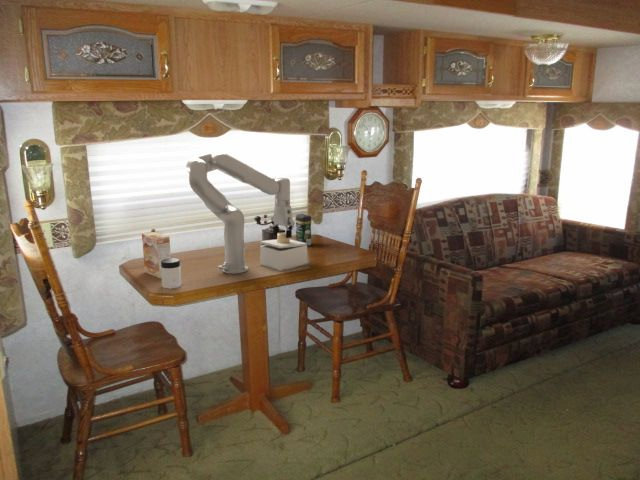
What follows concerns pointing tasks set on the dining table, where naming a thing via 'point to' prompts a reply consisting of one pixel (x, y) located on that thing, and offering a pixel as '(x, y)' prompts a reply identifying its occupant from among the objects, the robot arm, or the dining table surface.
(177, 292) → the dining table surface
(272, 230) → the brown coffee grinder
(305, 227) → the coffee jar
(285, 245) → the box lid
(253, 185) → the robot arm
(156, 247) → the coffeecake box
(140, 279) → the dining table surface
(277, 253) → the carton
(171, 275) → the jar
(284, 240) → the beige egg-shaped stone
